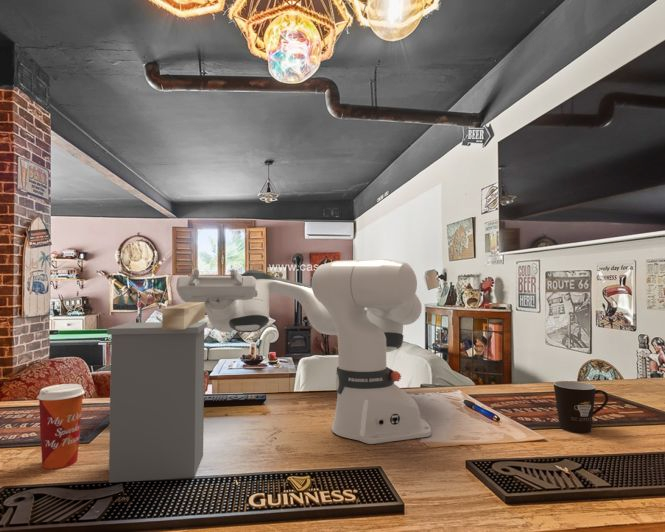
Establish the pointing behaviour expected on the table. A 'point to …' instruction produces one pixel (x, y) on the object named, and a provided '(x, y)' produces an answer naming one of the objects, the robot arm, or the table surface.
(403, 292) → the robot arm
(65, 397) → the paper cup
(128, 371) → the tall grey block
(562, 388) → the coffee mug
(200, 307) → the tan wooden bar
